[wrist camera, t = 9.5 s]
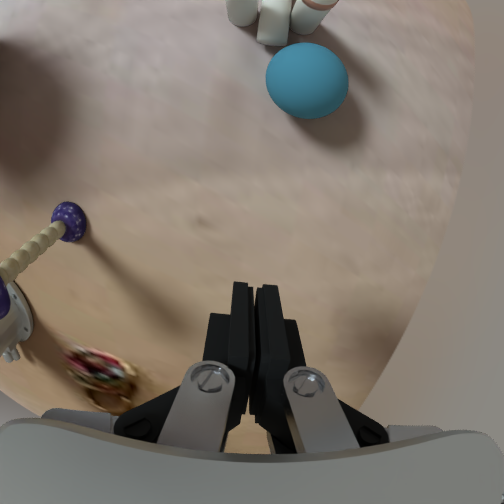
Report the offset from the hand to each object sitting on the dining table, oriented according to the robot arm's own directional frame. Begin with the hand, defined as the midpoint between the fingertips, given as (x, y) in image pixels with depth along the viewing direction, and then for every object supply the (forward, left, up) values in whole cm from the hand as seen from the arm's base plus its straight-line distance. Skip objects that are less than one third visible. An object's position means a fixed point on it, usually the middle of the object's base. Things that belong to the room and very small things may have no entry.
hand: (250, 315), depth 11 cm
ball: (+11, -3, -12) cm, 17 cm away
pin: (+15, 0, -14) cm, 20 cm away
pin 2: (+17, -3, -15) cm, 23 cm away
